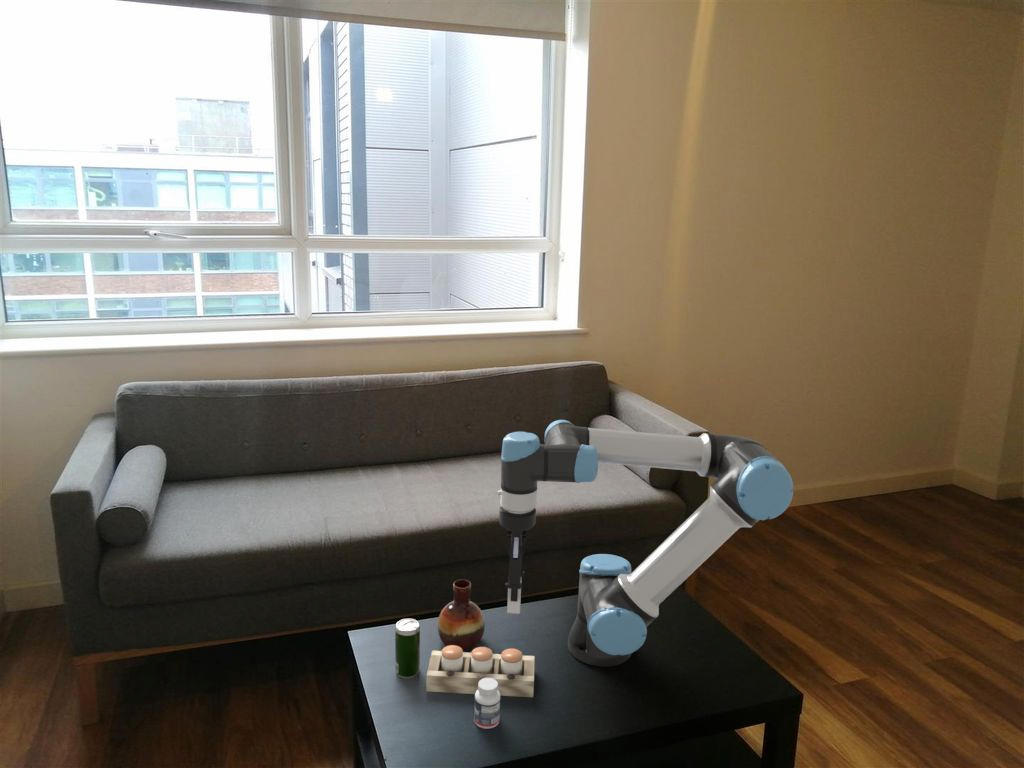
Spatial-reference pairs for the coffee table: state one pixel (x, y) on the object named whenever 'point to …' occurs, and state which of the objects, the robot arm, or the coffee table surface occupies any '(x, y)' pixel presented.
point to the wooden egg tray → (479, 677)
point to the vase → (461, 619)
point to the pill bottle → (487, 704)
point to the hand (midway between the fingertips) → (513, 608)
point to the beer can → (407, 648)
